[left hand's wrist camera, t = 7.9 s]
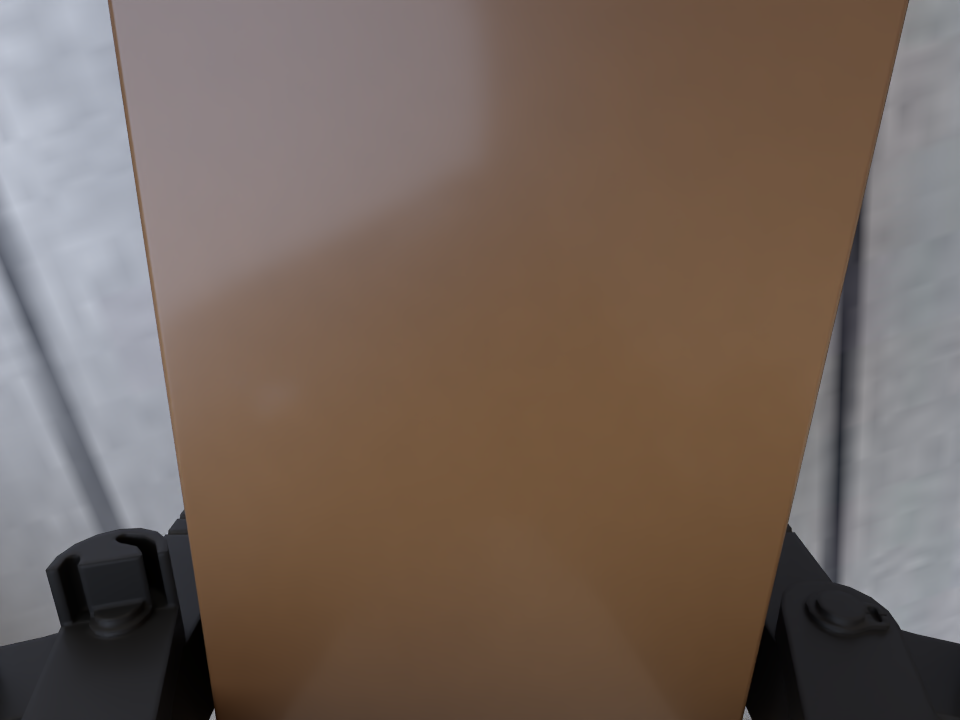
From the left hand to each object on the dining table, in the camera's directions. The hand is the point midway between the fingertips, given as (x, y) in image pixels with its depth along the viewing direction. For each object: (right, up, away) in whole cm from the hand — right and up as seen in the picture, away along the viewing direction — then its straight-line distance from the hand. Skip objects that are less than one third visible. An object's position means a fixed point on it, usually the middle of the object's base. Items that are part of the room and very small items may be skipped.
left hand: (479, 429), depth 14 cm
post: (+1, +24, -8) cm, 26 cm away
